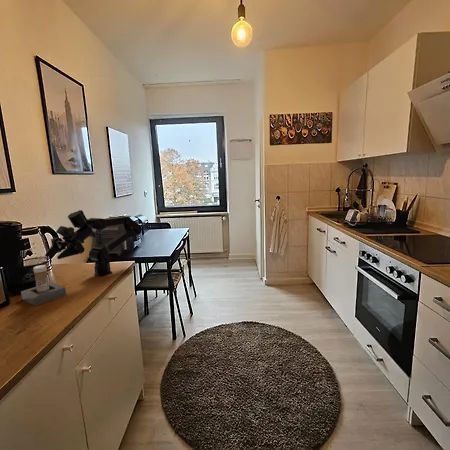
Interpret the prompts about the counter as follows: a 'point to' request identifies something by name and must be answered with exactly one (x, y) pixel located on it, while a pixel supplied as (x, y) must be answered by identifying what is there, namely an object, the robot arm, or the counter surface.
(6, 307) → the counter surface
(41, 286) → the sprinkles bottle
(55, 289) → the block
